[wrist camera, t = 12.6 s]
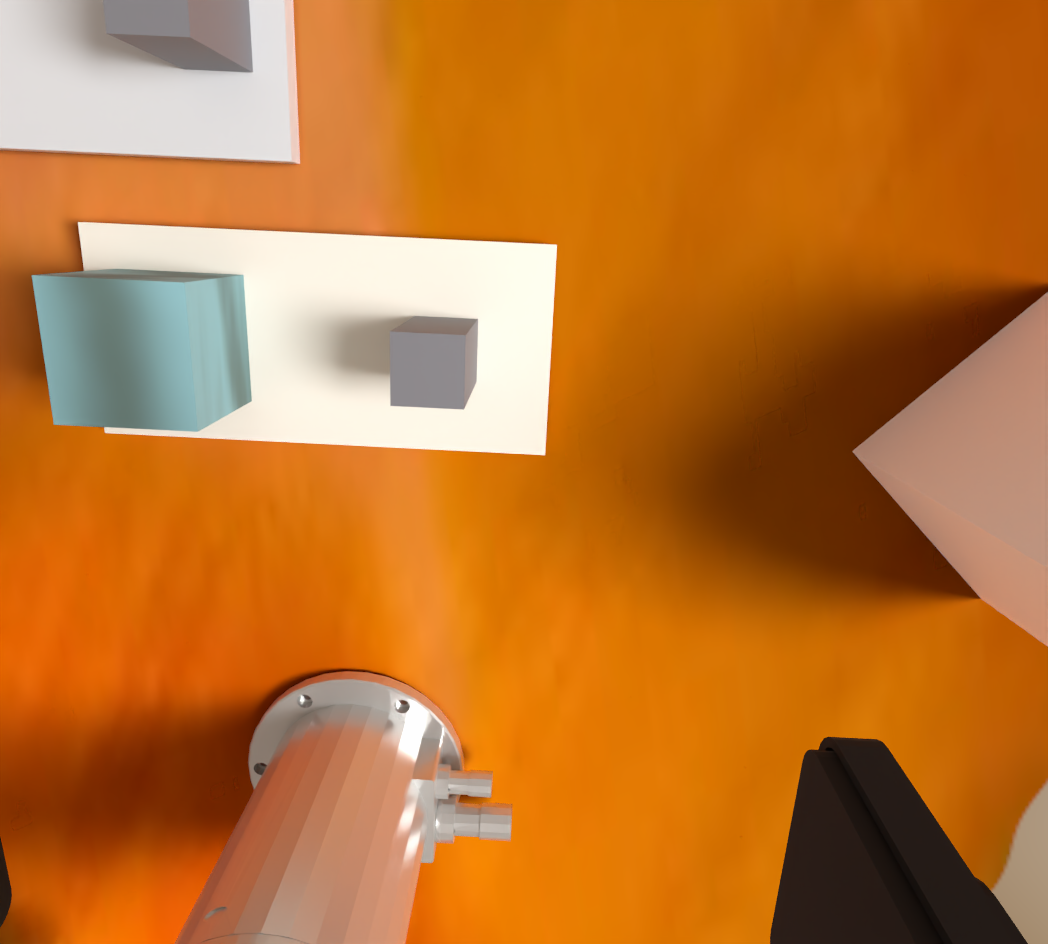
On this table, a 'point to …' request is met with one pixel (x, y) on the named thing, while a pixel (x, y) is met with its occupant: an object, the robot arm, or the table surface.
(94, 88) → the empty strip
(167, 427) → the block
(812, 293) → the table surface
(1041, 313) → the milk
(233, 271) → the strip
